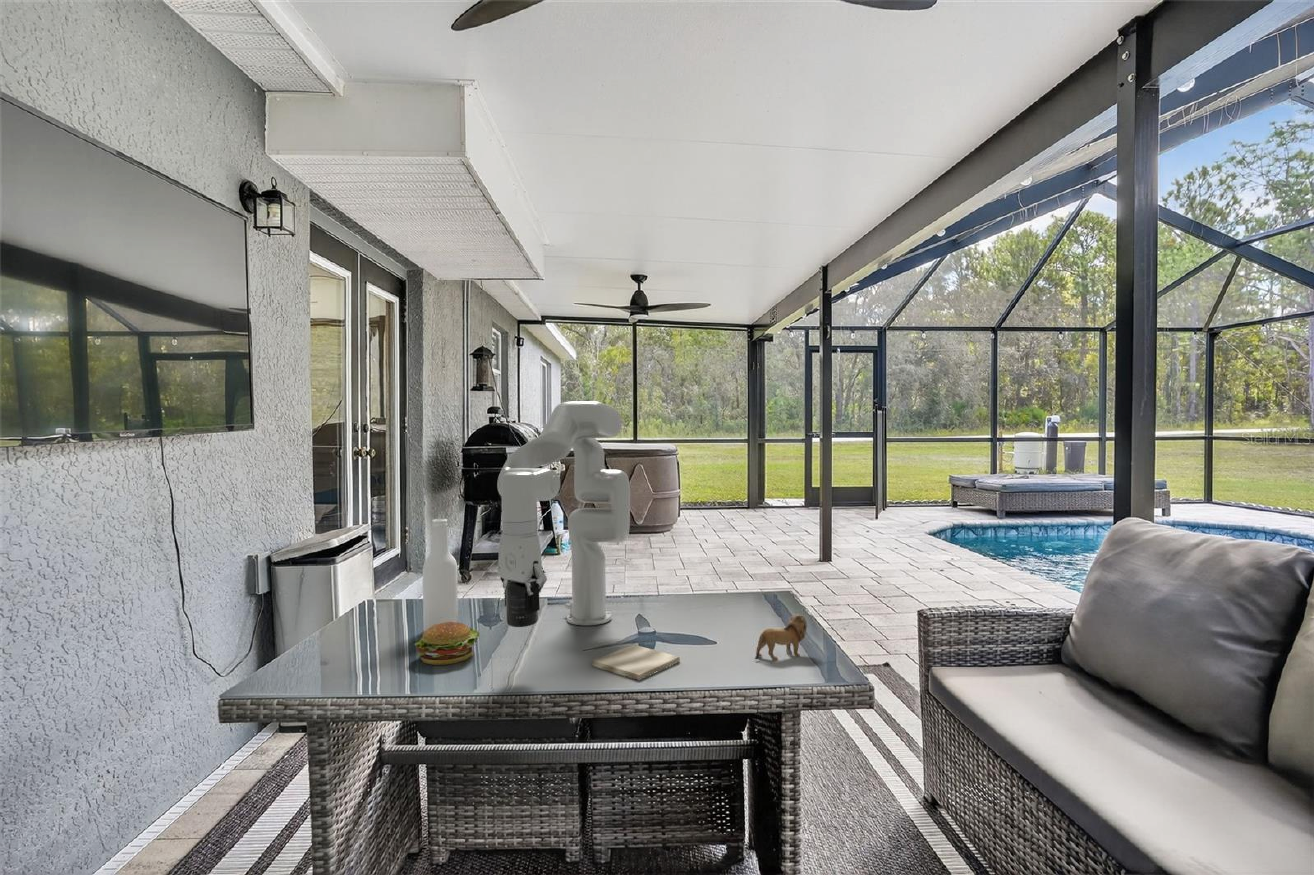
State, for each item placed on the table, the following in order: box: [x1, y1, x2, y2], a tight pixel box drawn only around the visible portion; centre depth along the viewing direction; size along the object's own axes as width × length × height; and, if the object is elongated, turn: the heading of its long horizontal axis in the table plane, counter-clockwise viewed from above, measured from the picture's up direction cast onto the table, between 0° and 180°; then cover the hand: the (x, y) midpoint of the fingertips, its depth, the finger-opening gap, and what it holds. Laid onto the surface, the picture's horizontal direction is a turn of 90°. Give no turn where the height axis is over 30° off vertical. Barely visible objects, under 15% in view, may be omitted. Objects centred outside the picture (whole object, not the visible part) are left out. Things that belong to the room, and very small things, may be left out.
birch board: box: [592, 644, 680, 681], centre depth 144 cm, size 14×14×1 cm
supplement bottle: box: [505, 581, 539, 628], centre depth 140 cm, size 7×7×12 cm
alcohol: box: [422, 518, 459, 632], centre depth 171 cm, size 9×9×30 cm
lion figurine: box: [754, 613, 808, 661], centre depth 148 cm, size 15×5×9 cm, turn 117°
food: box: [414, 621, 480, 666], centre depth 150 cm, size 14×14×8 cm
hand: (522, 607), depth 140 cm, fingers closed on supplement bottle, 6 cm apart
